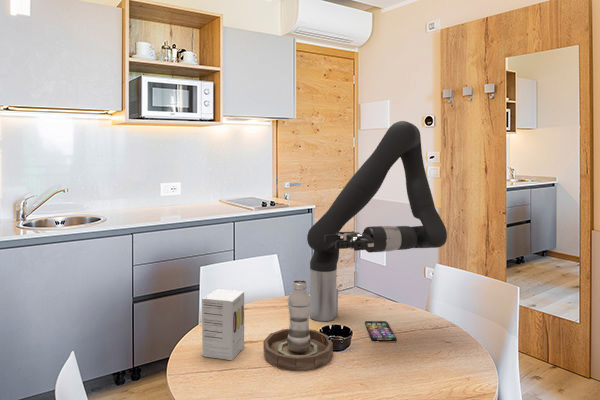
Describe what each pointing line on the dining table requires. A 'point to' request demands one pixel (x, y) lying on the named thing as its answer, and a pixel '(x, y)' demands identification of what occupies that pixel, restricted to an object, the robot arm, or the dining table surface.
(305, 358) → the walnut tray
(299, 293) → the plastic bottle
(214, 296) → the supplement box
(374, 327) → the smartphone
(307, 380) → the dining table surface
